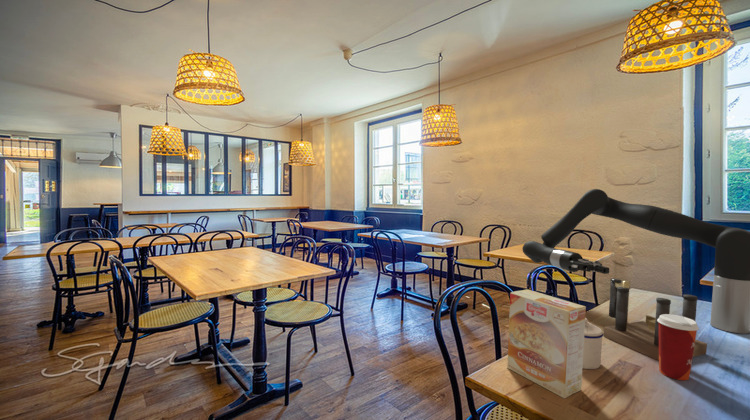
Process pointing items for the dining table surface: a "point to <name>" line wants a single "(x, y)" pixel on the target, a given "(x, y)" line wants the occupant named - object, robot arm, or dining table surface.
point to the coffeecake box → (546, 341)
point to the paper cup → (676, 345)
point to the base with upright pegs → (648, 325)
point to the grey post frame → (613, 295)
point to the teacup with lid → (592, 346)
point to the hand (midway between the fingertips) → (607, 270)
